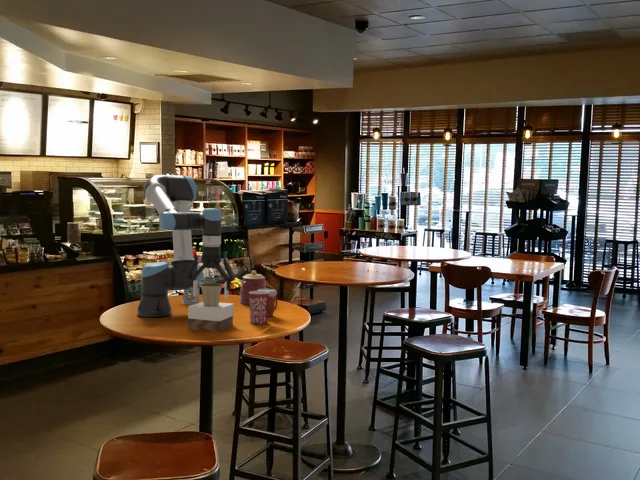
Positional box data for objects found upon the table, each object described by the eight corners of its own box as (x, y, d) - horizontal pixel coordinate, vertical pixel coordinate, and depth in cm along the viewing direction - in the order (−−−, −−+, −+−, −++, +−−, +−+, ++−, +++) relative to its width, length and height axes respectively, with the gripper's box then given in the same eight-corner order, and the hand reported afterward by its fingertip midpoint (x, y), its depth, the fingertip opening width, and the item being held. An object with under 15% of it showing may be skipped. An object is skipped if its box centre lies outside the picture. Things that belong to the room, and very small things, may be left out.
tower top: (188, 318, 260) (188, 306, 259) (203, 312, 273) (203, 301, 273) (219, 321, 256) (219, 309, 255) (233, 315, 269) (234, 303, 269)
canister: (262, 308, 313) (262, 272, 311) (236, 306, 315) (237, 271, 313) (268, 303, 325) (269, 269, 324) (244, 302, 328) (245, 268, 326)
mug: (245, 324, 273) (246, 293, 272) (250, 320, 282) (251, 290, 281) (274, 326, 271) (275, 294, 270) (278, 321, 280) (279, 291, 279)
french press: (199, 305, 314) (200, 255, 312) (175, 304, 314) (176, 254, 312) (203, 302, 324) (203, 253, 322) (180, 301, 324) (181, 252, 322)
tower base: (188, 330, 259) (188, 318, 259) (201, 324, 273) (202, 312, 273) (220, 333, 257) (221, 321, 256) (232, 326, 270) (232, 315, 270)
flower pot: (227, 304, 265) (227, 284, 265) (212, 308, 257) (212, 286, 257) (210, 302, 270) (210, 282, 270) (194, 305, 262) (195, 284, 262)
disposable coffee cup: (273, 318, 287) (273, 292, 286) (253, 317, 289) (253, 290, 288) (278, 314, 297) (279, 289, 296) (259, 313, 298) (259, 288, 298)
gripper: (179, 245, 261) (178, 296, 262) (237, 248, 256) (236, 300, 257) (186, 243, 268) (185, 293, 270) (243, 246, 263) (242, 297, 265)
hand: (210, 296), depth 263 cm, fingers open, 13 cm apart
